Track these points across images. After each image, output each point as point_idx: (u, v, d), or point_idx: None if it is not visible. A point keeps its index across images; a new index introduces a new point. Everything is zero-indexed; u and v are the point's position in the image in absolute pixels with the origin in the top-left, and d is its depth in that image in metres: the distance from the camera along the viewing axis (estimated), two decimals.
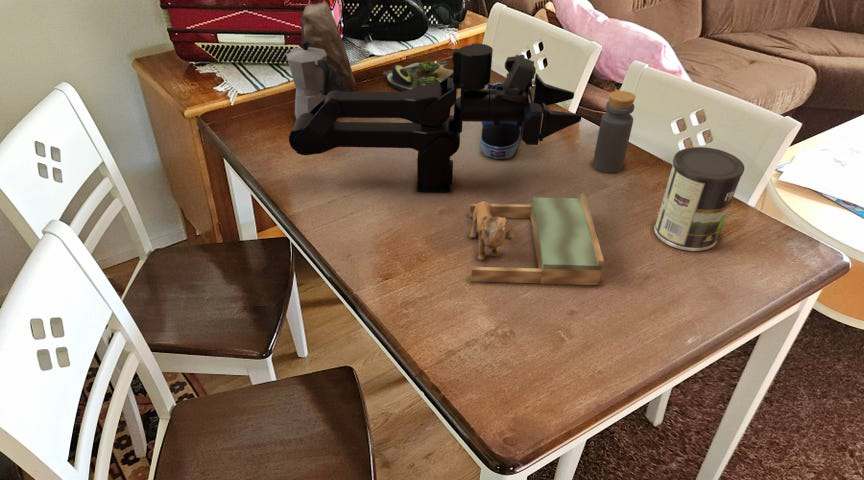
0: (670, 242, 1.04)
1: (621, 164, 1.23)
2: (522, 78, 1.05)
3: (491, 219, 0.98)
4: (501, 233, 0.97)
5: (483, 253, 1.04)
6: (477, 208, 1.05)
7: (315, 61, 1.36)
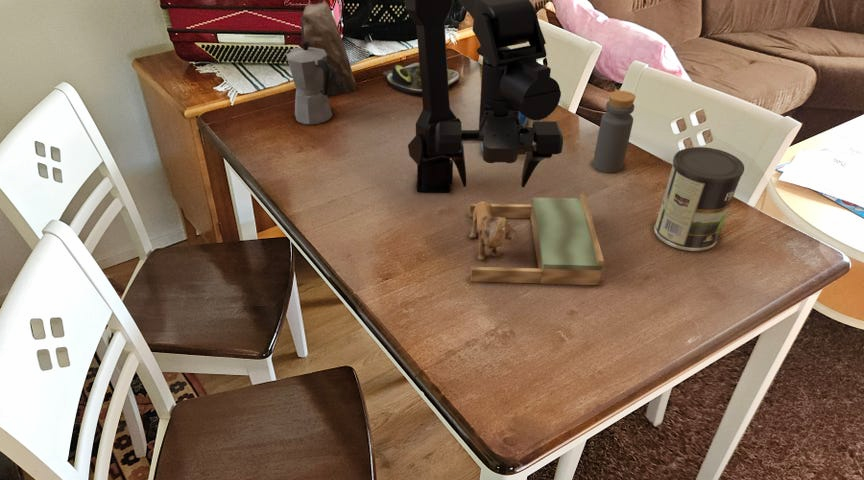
0: (670, 242, 1.04)
1: (621, 164, 1.23)
2: (483, 145, 0.88)
3: (491, 219, 0.98)
4: (501, 233, 0.97)
5: (483, 253, 1.04)
6: (477, 208, 1.05)
7: (315, 61, 1.36)
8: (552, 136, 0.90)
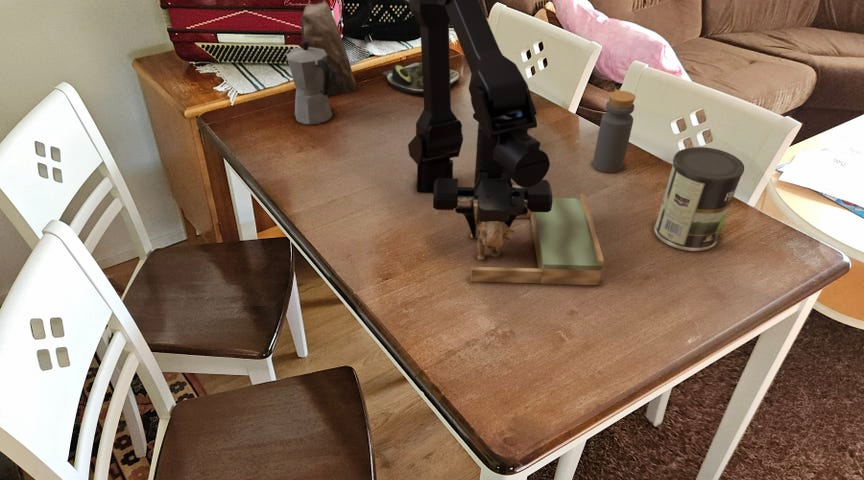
0: (670, 242, 1.04)
1: (621, 164, 1.23)
2: None
3: None
4: (499, 234, 0.97)
5: (483, 253, 1.04)
6: (477, 208, 1.05)
7: (315, 61, 1.36)
8: (542, 196, 0.97)
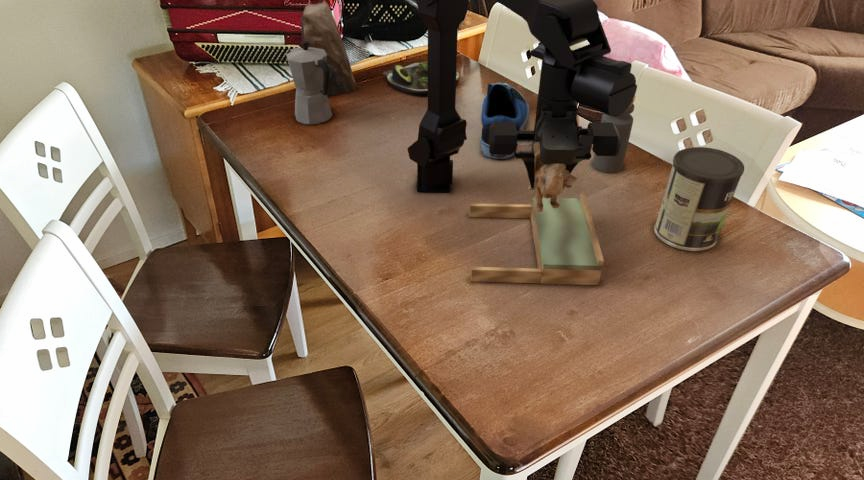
0: (670, 242, 1.04)
1: (621, 164, 1.23)
2: (541, 146, 0.87)
3: (548, 165, 0.91)
4: (559, 179, 0.89)
5: (541, 204, 0.96)
6: (536, 156, 0.97)
7: (315, 61, 1.36)
8: (610, 138, 0.89)
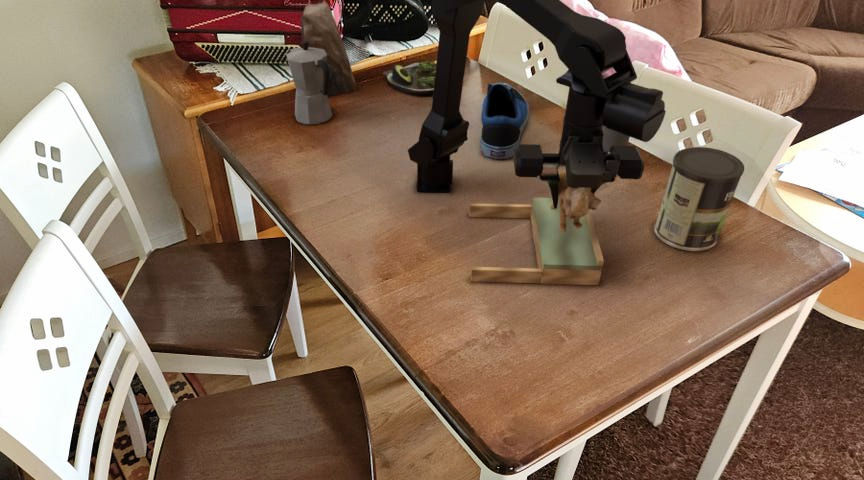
0: (670, 242, 1.04)
1: None
2: (567, 170, 0.89)
3: None
4: (584, 202, 0.92)
5: (564, 224, 0.98)
6: None
7: (315, 61, 1.36)
8: (634, 161, 0.91)
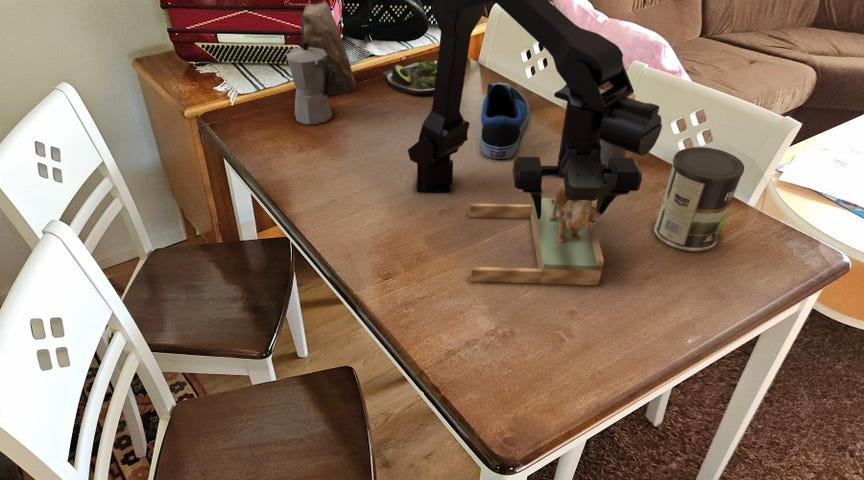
0: (670, 242, 1.04)
1: None
2: (566, 183, 0.91)
3: None
4: (585, 215, 0.93)
5: (563, 236, 1.00)
6: (560, 189, 1.01)
7: (315, 61, 1.36)
8: (631, 174, 0.93)
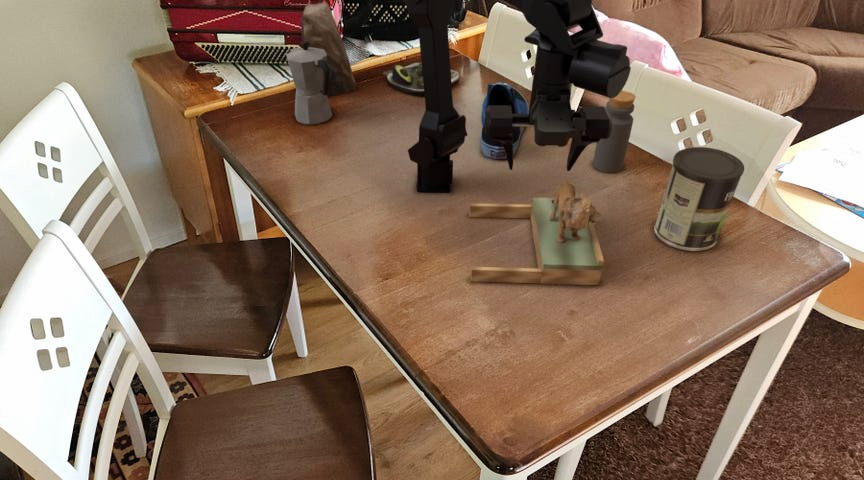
0: (670, 242, 1.04)
1: (621, 164, 1.23)
2: (535, 128, 0.90)
3: (575, 200, 0.94)
4: (585, 215, 0.93)
5: (563, 236, 1.00)
6: (560, 189, 1.01)
7: (315, 61, 1.36)
8: (602, 121, 0.93)
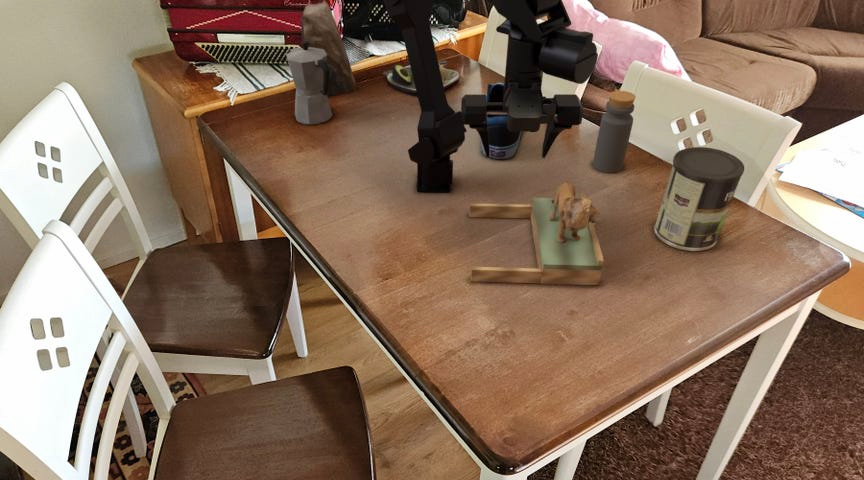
0: (670, 242, 1.04)
1: (621, 164, 1.23)
2: (508, 115, 0.93)
3: (575, 200, 0.94)
4: (585, 215, 0.93)
5: (563, 236, 1.00)
6: (560, 189, 1.01)
7: (315, 61, 1.36)
8: (573, 108, 0.95)
